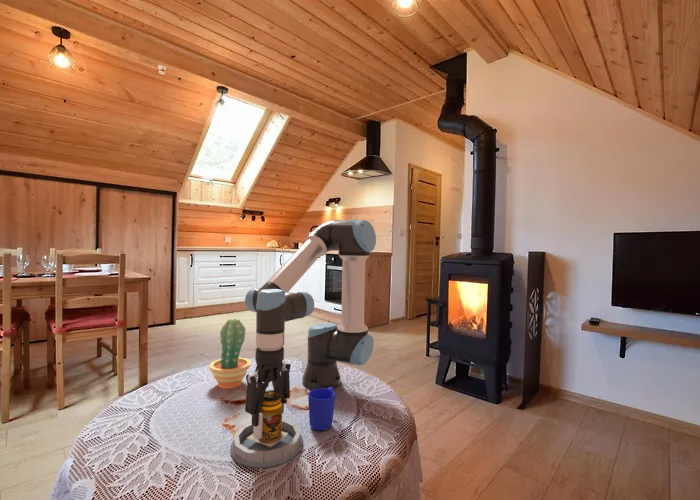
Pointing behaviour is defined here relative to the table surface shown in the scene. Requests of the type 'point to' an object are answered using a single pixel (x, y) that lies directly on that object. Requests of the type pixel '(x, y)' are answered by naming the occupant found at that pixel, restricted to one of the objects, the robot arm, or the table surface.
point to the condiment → (271, 419)
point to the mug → (321, 408)
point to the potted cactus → (230, 356)
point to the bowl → (266, 447)
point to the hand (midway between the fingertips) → (267, 431)
